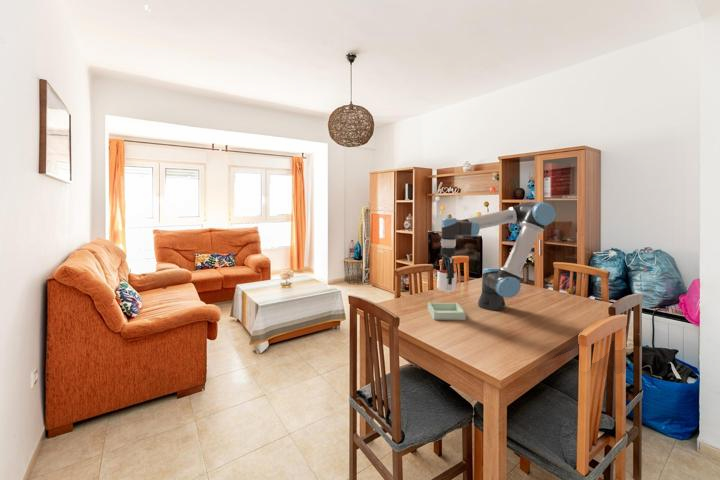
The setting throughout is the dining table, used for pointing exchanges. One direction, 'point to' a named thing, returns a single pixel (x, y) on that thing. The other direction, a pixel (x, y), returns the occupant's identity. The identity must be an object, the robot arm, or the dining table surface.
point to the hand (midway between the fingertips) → (446, 287)
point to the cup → (445, 281)
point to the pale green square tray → (446, 311)
